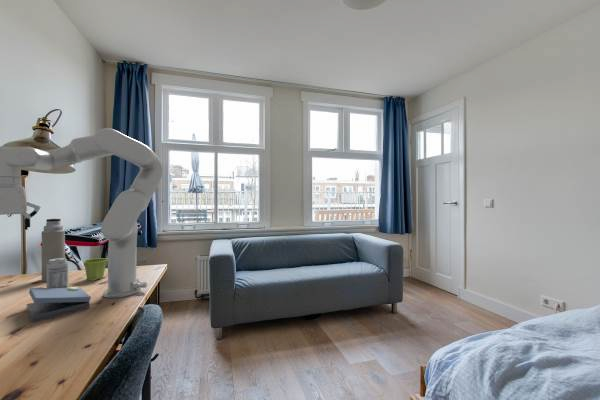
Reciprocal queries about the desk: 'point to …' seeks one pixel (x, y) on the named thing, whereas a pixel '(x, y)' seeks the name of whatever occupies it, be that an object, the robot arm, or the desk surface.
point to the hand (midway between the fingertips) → (6, 230)
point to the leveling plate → (58, 295)
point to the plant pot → (95, 268)
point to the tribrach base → (53, 309)
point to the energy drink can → (57, 273)
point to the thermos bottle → (52, 243)
